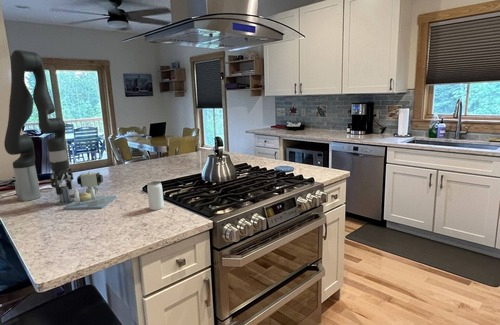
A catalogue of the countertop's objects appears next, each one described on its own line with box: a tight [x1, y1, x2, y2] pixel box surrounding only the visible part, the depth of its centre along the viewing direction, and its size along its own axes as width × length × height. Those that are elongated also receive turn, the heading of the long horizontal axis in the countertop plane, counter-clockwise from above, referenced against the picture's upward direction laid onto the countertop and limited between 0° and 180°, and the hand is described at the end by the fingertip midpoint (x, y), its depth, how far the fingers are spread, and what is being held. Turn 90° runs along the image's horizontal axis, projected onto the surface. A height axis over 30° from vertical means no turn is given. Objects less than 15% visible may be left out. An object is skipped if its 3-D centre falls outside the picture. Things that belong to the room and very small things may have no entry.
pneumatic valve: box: [76, 171, 104, 194], centre depth 170 cm, size 6×12×12 cm, turn 102°
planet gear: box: [55, 185, 75, 206], centre depth 156 cm, size 8×8×8 cm
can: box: [146, 180, 165, 211], centre depth 144 cm, size 6×6×12 cm
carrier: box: [62, 187, 117, 211], centre depth 153 cm, size 18×16×8 cm
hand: (64, 191), depth 155 cm, fingers open, 8 cm apart
